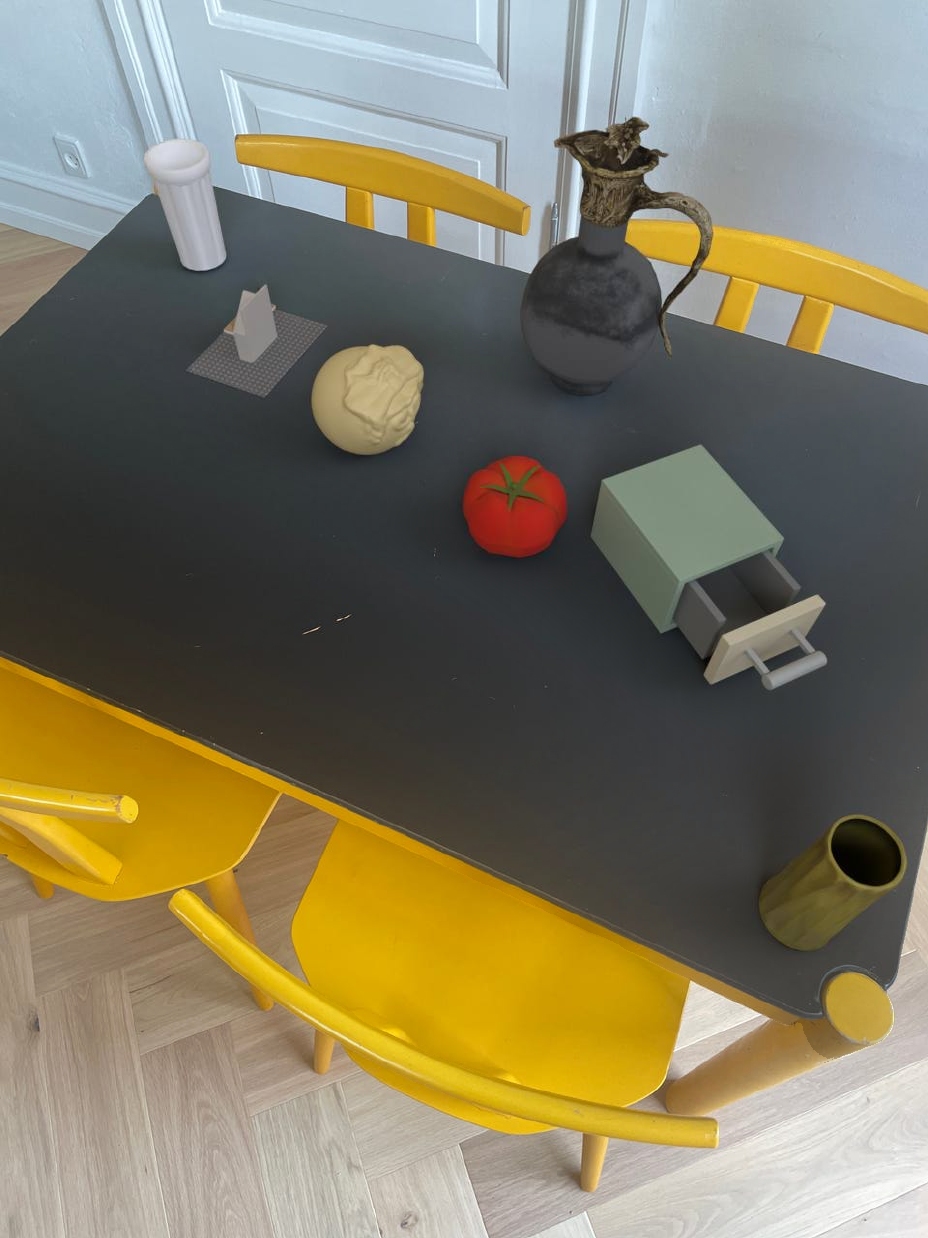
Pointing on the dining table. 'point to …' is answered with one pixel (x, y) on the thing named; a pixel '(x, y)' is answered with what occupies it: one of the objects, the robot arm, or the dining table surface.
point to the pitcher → (604, 268)
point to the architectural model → (257, 346)
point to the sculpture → (368, 398)
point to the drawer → (749, 620)
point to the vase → (832, 882)
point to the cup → (188, 200)
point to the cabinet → (676, 527)
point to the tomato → (514, 507)
